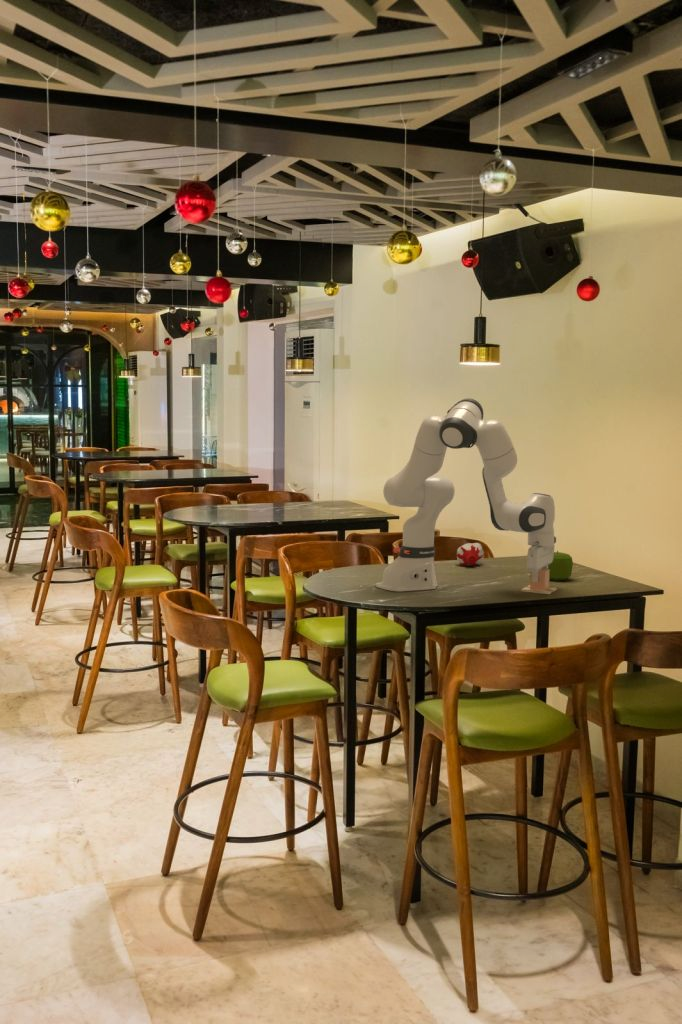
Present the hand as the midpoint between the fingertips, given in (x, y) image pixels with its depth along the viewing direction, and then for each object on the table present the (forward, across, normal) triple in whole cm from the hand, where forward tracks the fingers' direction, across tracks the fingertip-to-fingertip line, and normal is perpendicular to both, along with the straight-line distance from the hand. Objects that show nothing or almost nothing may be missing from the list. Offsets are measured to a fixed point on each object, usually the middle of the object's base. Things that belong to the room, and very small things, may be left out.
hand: (539, 579), depth 318 cm
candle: (+4, +38, +40) cm, 55 cm away
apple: (+4, +25, +1) cm, 25 cm away
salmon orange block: (+3, 0, 0) cm, 3 cm away
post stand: (+4, 0, 0) cm, 4 cm away
